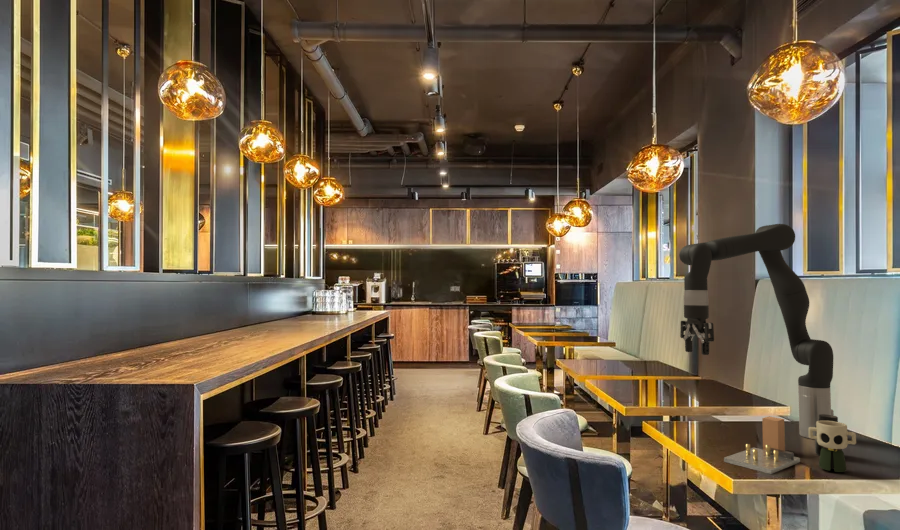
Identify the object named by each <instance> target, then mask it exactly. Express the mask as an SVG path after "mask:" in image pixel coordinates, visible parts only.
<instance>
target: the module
mask: <svg viewBox="0 0 900 530" xmlns="http://www.w3.org/2000/svg"><path fill="white" fill-rule="evenodd" d="M761 421H762V423H761V424H762V425H761V426H762V427H761V428H762V449H763V450H766V445H770V448H774V449H779V450H783V451H786V442H785V441H786V436H785V434H786V433H785V419H784V418H782V417H781V418H780V417H775V416H765V417H762V420H761Z"/></svg>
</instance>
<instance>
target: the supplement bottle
mask: <svg viewBox="0 0 900 530" xmlns="http://www.w3.org/2000/svg"><path fill="white" fill-rule="evenodd" d="M819 421H835V422H839V417H838V416H836V415H834V416H833V415H827V414H820V415H819ZM815 428H816V425H815ZM815 436H817V432H816V431H815ZM822 448H823V446H821V445H819V444H818V442H817V440H816V439H814V450H815V451H814V452H815V454H816V455H817V456H819V457H820V452H821V449H822ZM841 450H842V451H843V449H841Z"/></svg>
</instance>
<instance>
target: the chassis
mask: <svg viewBox="0 0 900 530" xmlns="http://www.w3.org/2000/svg"><path fill="white" fill-rule="evenodd" d="M723 462H724V463H728V464H731V465H735V466H739V467H743V468H746V469H751V470H754V471H757V472H761V473H765V474H770V475H772V474H775V473H778V472H779V471H782V470H784V469H787V468H790V467H793V466H794V465H797V464H800V463H801V458H800V457H797V456H795V453H794V452H792V451H787V450H785V451H783V450H779V449H774V448H770V445H766V450H763V448H758V447H757V448H756V447H751V443H745V450H743V451H742V450H741V451H739V452H736V453H734V454H731V455H728V456H724V457H723Z"/></svg>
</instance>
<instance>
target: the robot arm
mask: <svg viewBox="0 0 900 530" xmlns="http://www.w3.org/2000/svg"><path fill="white" fill-rule="evenodd" d="M755 230H756V231H755V232H754V233H749V234H747V233H746V234H742V235H734V236H733V235H732V236H728V237H722V238H717V239H714V240H710V241H705V242H698V243H690V244H686V245H684V246H683V247H682V248H681V249H680V251H679V254H678V255H679V256H678V257H679V259H680V261H681V262H682V263H683V264H684V265H687V266H690V271H688V272H687V273H686V274H685V275H684V277H683V279H684V280H683V283H684V285H683V286H684V288H683V289H684V291H683V294H684V295H683V318H685V319H686V320H681V321H680V333H679V334H680V335H679V336H680V338H681V339H683V341H684V349H685V352H686V353H692V352H693V338H694V337H695V336H697V338H699V339H700V342H701V343H700V344H701V355H702V356H709V354H710V343H711V342H714V341H715V333H714V331H715V330H714V329H715V328H714V323H713V322H707V319H709V318H710V311H709V310H710V309H709V308H710V307H709V306H710V305H709V293H708V278H709V277H708V276H709V273H710V269H711V264H712V261H722V260H726V259H731V258H735V257H739V256H743V255H747V254H751V253H757V252H758V253H759V255H760V257H761V259H762V261H763V264H764V265H765V268H766V270H767V271H766V272H767V274H768V276H769V279H770V282H771V284H772V285H771V286H772V288H773V290H774V291H773V292H774V294H775V298H776V301H777V304H778V306H779V310H780V312H781V315H782V319H783V322H784V325H785V328H786V332H787V338H788V341H789V347H790V350H791V355H792V357H793V359H794V361H796V362H797V364H800V365H803V366H804V365H805V366H808V370H807V371H808V372H807V373H806V374H803V375H800V376H799V377H798V380H797V382H798V385H797V386H798V425H799V429H798V430H799V431H798V432H799V436H800V437H803V438H807V439H810V438H809V432H808V429H809V427H815V425H816V422H817V421H819V415H820V414H827V415H833V416H835V414H834V410H833V409H832V404H831V403H832V400H831V395H832V394H831V383H832V381H833V377H834V350H833V348H832V346H831V344H830V343H829V342H827V341H825V340H821V339H813V338H812V339H811V337H810V334H809V333H808V329H807V323H806V321H807V320H806V319H807V316H808V312H809V309H810V299H809V295H808V292H807V289H806V286H805V284H804V281H803V280H802V279H801V277H800V276H798V274H797V273H795V271H794V270H793V269H792V268H791V267H790V266H789V265H788V264H787V262H786V260H785V258H784V256H783V254H782V251H785V250H788V249H789V248H791V247H792V246H793V244H794V243H795V242H796V232H795V231H794V229H793V228H792V226H790V225H788V224H786V223H785V224H784V223H775V224H768V225H767V224H766V225H763V226H759V227H758V228H757V229H755ZM709 336H710V337H709ZM813 436H815V431H813Z"/></svg>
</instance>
